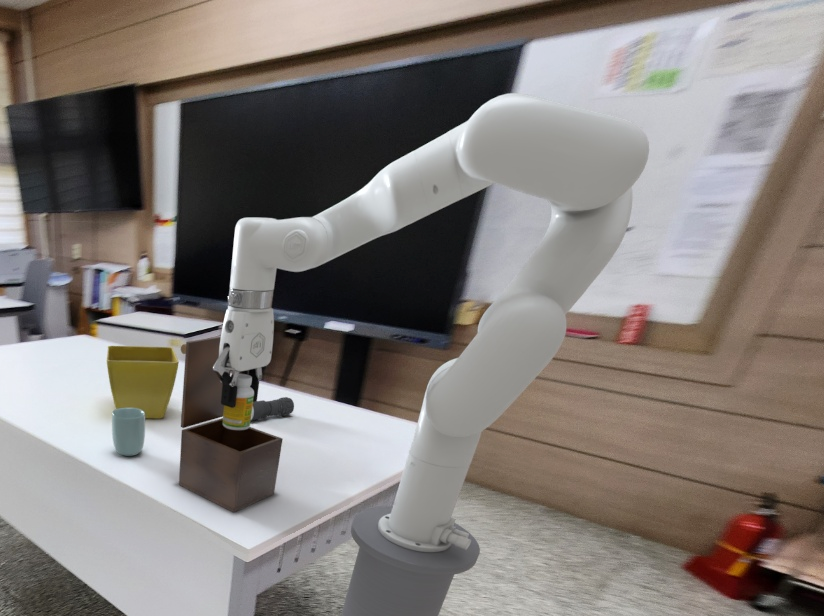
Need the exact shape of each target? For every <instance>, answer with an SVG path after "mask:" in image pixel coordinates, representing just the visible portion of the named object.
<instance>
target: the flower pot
mask: <svg viewBox="0 0 824 616" xmlns="http://www.w3.org/2000/svg"><path fill="white" fill-rule="evenodd" d="M179 362H180V361H179V359H178V357H177V354H176V352H175V350H174V348H173V347H171V346H143V345H142V346H141V345H140V346H139V345H138V346H137V345H108V346H107V354H106V367H107V375H108V380H109V386H110V392H111V397H112V399H113V404H114V407H115V409H119V408H138V409H141V410H143V411H144V412H145V419H163V418H164V416H165V414H166V411H167V409H168V407H169V403H170V400H171V397H172V394H173V390H174V387H175V384H176V379H177V374H178V369H179Z"/></svg>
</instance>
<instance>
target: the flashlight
mask: <svg viewBox="0 0 824 616" xmlns="http://www.w3.org/2000/svg"><path fill="white" fill-rule="evenodd" d="M294 409H295V403H294V400H293V399H292V398H291V397H288V396H285V397H280V398H277V399H272V400H257V401H255V402H253V406H252V414H251V422H252V421H258V420H261V419H266V418H267V417H271V416H275V417H276V416H281V417H283V416H284V417H285V416H289V415H291V414H292V413H293V412H294Z"/></svg>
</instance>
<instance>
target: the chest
mask: <svg viewBox="0 0 824 616" xmlns="http://www.w3.org/2000/svg"><path fill="white" fill-rule="evenodd" d="M180 439H181V440H180V441H181V442H180V453H179V454H180V455H179V474H178V475H179V478H178V485H179V486H180V487H183V488H184V489H187V490H188V491H190V492H192V493H195V494H196V495H197V496H200V497H202V498H204V499H206V500H209V501H210V502H211V503H214V504H216V505H218V506H220V507H221V508H224V509H225V510H227V511H230V512H231V513H236V512H238V511H240V510H243V509H245V508H247V507H249V506H251V505H253V504H254V505H255V504H256V503H258V502H260V501H262V500H265V499H267V498H269V497H271V496H273V495H275V490H276V483H277V477H278V471H279V465H280V459H281V453H282V446H283V439H284V438H282V437H280V436H276V435H273V434H271V433H268V432H266V431H263V430H260V429H257V428H254V427H251V426H250V427H249V428H248V429H246V430H231V429H227V428H225V427H224V426H223V417H220V418H217V419H213V420H210V421H206V422H203V423H200V424H196V425H193V426H189V427H186V428H182V429H181V438H180Z"/></svg>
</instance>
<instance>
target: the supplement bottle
mask: <svg viewBox="0 0 824 616" xmlns="http://www.w3.org/2000/svg"><path fill="white" fill-rule="evenodd" d="M230 376H232V374H230ZM251 383H252V377H251V376H250V375H247V373H246V374H245V373H239V375H238V378H237V381H236V384H235V386H238V387H237V397H236V406H235V407H234V408H231V407H228V406H225V405H224V412H223V417H222V418H223V426H224V427H225V428H227V429H231V430H246V429H248V428H249V427H251V422H252V421H251V414H252V406H253V398H254V390H253V389H252V388H251V387H250V385H251Z"/></svg>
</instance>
